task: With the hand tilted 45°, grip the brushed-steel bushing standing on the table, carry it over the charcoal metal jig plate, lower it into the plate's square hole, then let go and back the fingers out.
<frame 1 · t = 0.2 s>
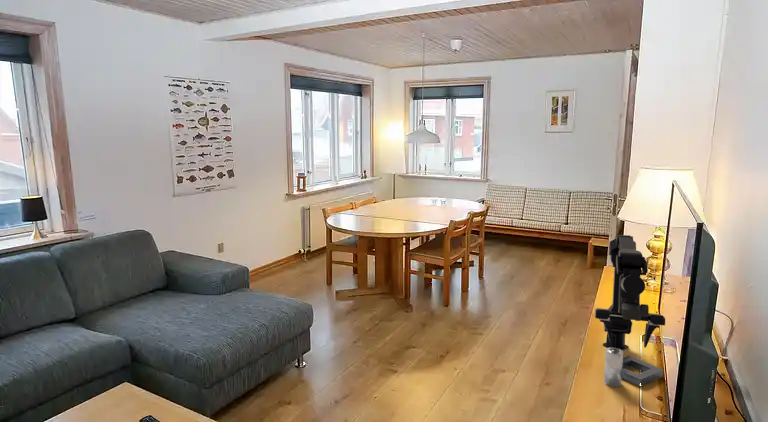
hand: (627, 345, 147), 15 cm above the table, tool tilted 15°, fingers open, 9 cm apart
jig: (633, 373, 160), on the table
bushing: (612, 383, 155), on the table
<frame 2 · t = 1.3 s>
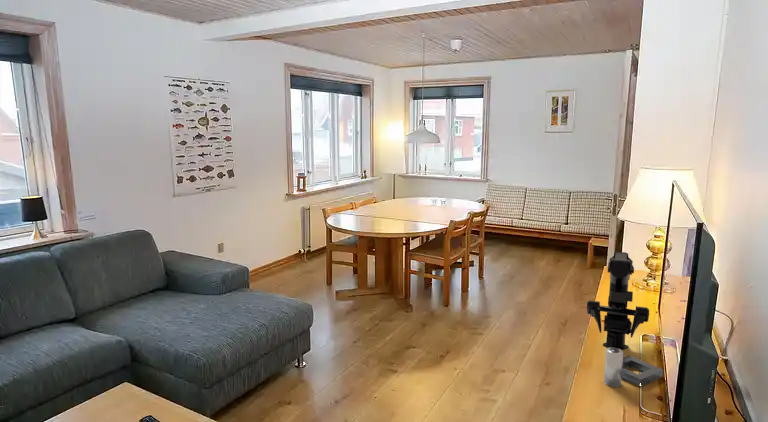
hand: (615, 334, 159), 13 cm above the table, tool tilted 45°, fingers open, 9 cm apart
nothing on the table moved.
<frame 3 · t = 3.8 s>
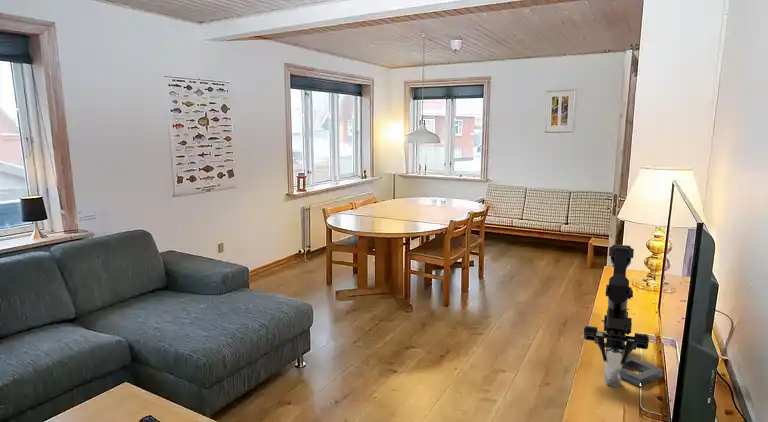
hand: (613, 362, 153), 8 cm above the table, tool tilted 45°, fingers closed on bushing, 5 cm apart
bushing: (612, 383, 155), on the table, touching gripper
everything else where it was.
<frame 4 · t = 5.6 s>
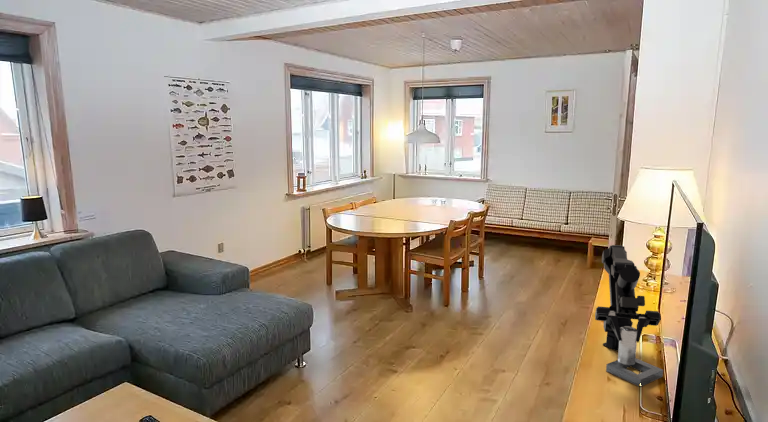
hand: (628, 341, 154), 14 cm above the table, tool tilted 45°, fingers closed on bushing, 5 cm apart
bushing: (626, 361, 157), point 6 cm above the table, touching gripper
everything else where it was.
when the fingers open (9 cm above the table, at t = 7.5 s): bushing drops 1 cm, resting in jig.
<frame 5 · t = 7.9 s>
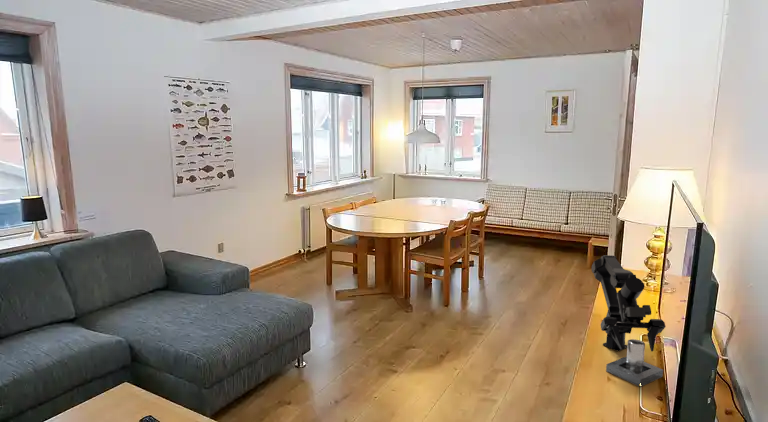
hand: (637, 350, 158), 9 cm above the table, tool tilted 45°, fingers open, 9 cm apart
bushing: (634, 373, 161), resting in jig
everything else where it was.
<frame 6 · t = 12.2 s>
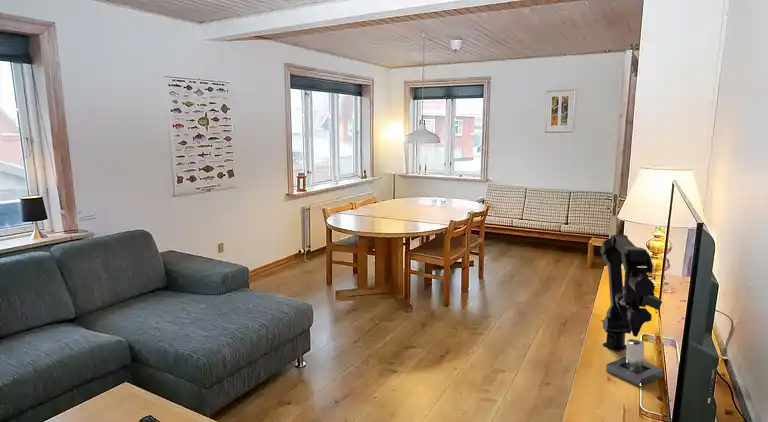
hand: (630, 330, 163), 13 cm above the table, tool pointing down, fingers open, 9 cm apart
nothing on the table moved.
at the end: bushing 0.1 cm off-centre on the jig, point 0.0 cm above the jig's base; bushing tilted 2°; the gripper is holding nothing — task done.
